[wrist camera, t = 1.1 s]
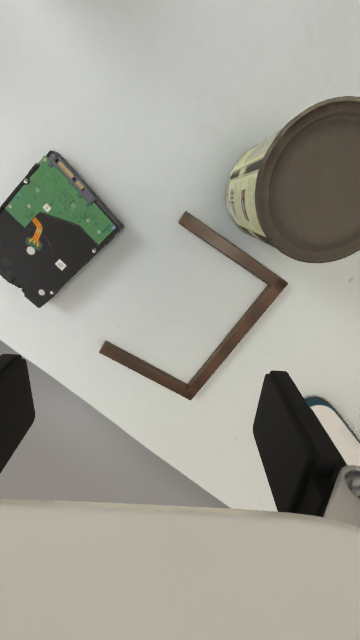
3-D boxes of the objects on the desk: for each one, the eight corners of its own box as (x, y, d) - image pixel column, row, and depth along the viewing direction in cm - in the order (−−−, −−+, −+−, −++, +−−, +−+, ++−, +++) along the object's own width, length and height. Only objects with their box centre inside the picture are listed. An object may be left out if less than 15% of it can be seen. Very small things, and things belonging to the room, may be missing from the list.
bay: (185, 210, 33) (185, 211, 32) (285, 280, 36) (288, 283, 35) (101, 348, 40) (98, 352, 39) (190, 395, 44) (190, 400, 43)
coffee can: (332, 198, 32) (434, 199, 19) (257, 255, 35) (303, 290, 22) (285, 115, 29) (371, 49, 16) (207, 185, 32) (226, 177, 19)
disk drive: (49, 302, 37) (126, 225, 33) (40, 310, 35) (121, 227, 31) (-19, 243, 34) (57, 149, 30) (-35, 247, 32) (45, 145, 28)
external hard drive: (256, 424, 46) (259, 434, 44) (318, 388, 43) (325, 396, 41) (325, 496, 53) (330, 507, 52) (382, 469, 50) (390, 479, 49)
